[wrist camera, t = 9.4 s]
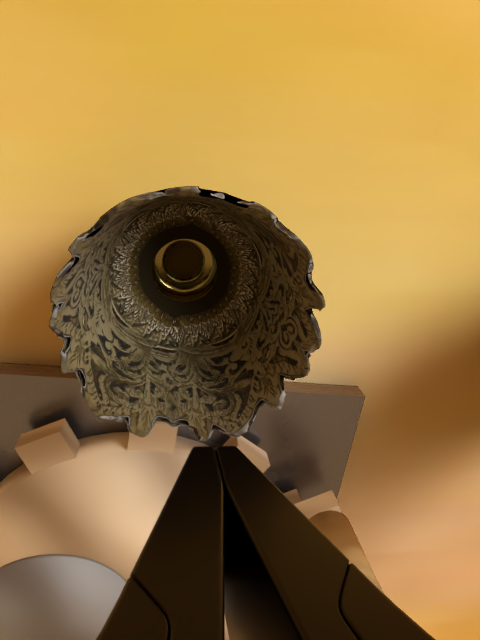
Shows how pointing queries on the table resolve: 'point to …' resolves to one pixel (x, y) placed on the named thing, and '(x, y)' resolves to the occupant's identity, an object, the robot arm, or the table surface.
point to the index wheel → (102, 524)
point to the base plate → (266, 431)
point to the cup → (186, 313)
